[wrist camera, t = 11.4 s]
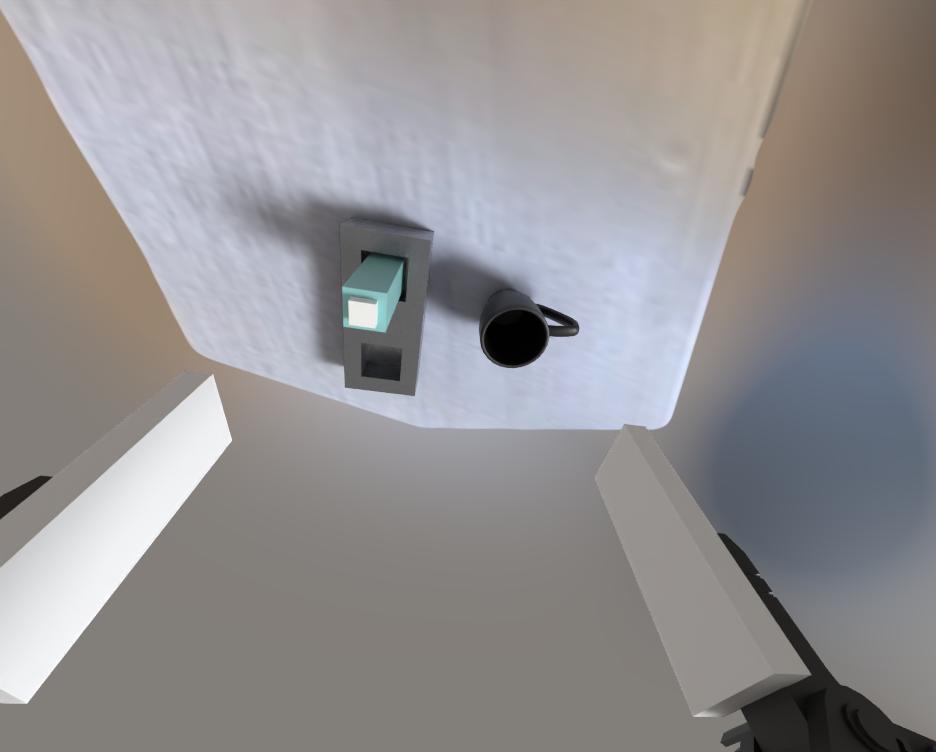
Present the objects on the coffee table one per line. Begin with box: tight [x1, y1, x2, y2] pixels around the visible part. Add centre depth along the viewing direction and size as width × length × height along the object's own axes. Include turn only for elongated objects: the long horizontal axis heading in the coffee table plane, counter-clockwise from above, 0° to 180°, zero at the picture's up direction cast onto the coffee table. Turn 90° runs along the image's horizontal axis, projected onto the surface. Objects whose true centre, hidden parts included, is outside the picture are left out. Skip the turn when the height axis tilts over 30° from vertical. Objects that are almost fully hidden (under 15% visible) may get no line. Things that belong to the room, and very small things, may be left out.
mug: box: [479, 289, 579, 368], centre depth 44 cm, size 8×12×10 cm
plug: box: [342, 252, 406, 332], centre depth 37 cm, size 4×4×15 cm
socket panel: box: [339, 217, 434, 396], centre depth 46 cm, size 22×10×5 cm, turn 170°
